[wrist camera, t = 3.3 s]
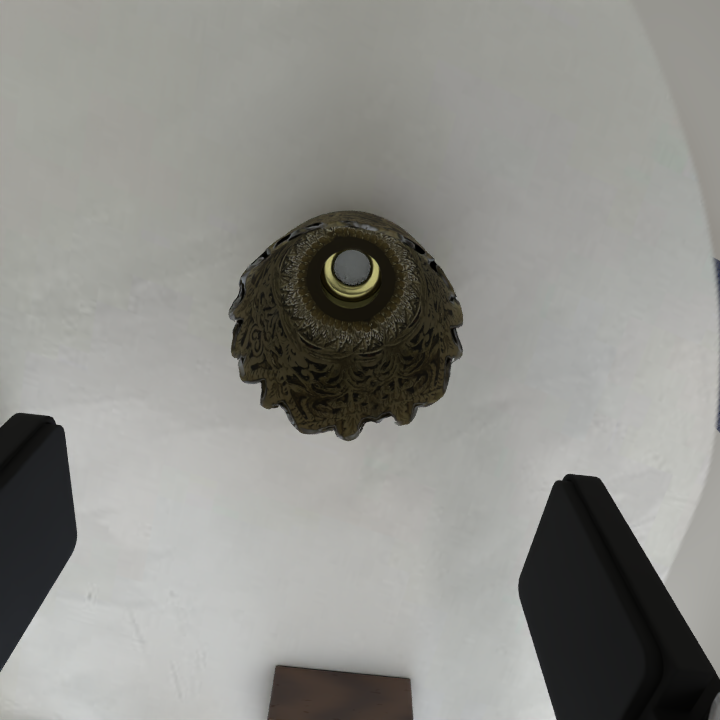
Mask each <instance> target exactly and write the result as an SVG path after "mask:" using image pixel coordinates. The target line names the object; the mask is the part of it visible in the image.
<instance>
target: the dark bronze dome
mask: <svg viewBox="0 0 720 720" xmlns="http://www.w3.org/2000/svg"><path fill="white" fill-rule="evenodd" d="M347 250H357V251H360V252H362V253H363V254H364V255H366V257H367V258H368V260H369V262H370V266H371V270H370V274H369V276H368V278H367V279H366V280H365V281H364V282H363V283H361V284H359V285H355V286H350V285H346V284H343V283H342V282H340V281H339V280H338V279H337V277H336V275H335V273H334V262H335V260H336V258H337V257H338V255H339V254H341V253H342V252H344V251H347ZM239 287H240V291H239V295H238V297H237V298H236V299H235V300H234V302H233V304H232V306H231V308H230V310H229V318H230V319H231V320H233V321H235V320H237V323H236V324H235V327H234V329H233V340H232V346H231V353H232V356H233V357H234V358H237V360H238V359H239V358H240V360H239V363H238V366H239V372H240V378H241V380H242V381H243V382H244V383H247V384H255V383H259V382H261V388H262V392H261V401H260V403H261V406H263V407H264V408H266V409H271V408H278V406H279V405H280V407H281V408H282V409H284V410H285V412H286V414H287V417H288V419H289V421H290V422H291V423H292V425H293V426H294V427H295V428H296V429H297V430H298V431H299V432H301V433H303V434H318V433H324V432H327V431H333V430H334V431H335V434H336V435H337V437H339V438H340V439H343V440H345V441H351V440H354V439H356V438H357V437H358V436H359V434H360V433H361V432H362V429H363V428H362V427H363V426H364V424H365V423H366V422H370V421H372V422H376V423H380V422H381V421H382V420H383V419H384V418H387V417H390V416H392V417H394V418H395V421H397V422H395V424H397V425H398V426H401V425H406V424H409V423H410V422H411V421H412V420H413V419H414V417H415V415H416V412H417V410H418V407H428V406H430V405H432V404H433V403H435V402H437V401H438V400H439V399H440V398H441V397H443V395H444V394H445V392H446V389H447V385H448V382H449V377H450V369H451V364H452V363H453V362H454V361H456V360H457V359H460V358H461V356H462V352H463V349H462V345H461V343H460V340H459V338H458V335H457V331H456V328H459V327H460V326H462V324H463V314H462V310H461V306H460V303H459V302H458V301H457V299H456V297H457V296H456V294H455V292H454V289H453V287H452V285H451V284H450V282H449V280H448V279H447V277H446V275H445V274H444V272H443V271H442V269H441V268H440V267H439V266H438V265H437V264H436V263H435V261H434V258H433V257H432V256H431V255H429V254H428V253H427V252H426V251H425V249H424V248H423V247H422V246H421V245H420V244H419V243H418V242H417V241H416V240H415V239H414V238H413V237H412V236H411V235H410V234H408V233H407V232H406V231H405V230H403V229H402V228H401V227H399V226H398V225H396V224H394V223H393V222H391V221H389V220H387V219H384V218H382V217H379V216H376V215H374V214H370V213H365V212H358V211H339V212H332V213H328V214H324V215H320V216H318V217H315V218H312V219H310V220H308V221H306V222H304V223H302V224H300V225H299V226H297V227H296V228H294V229H293V230H291V231H290V232H288V233H287V234H286V235H285V236H283V237H281V238H280V239H279V240H277V241H276V242H274V243H273V244H272V245H271V246H270V247H268V248H267V249H266V250H265V252H264V253H263V254H261V255H260V256H259V257H258V258H257V259H256V260H255V261H254V262H253V263H252V264H251V265H250V266H249V267H248V268H247V269H246V270H245V272H244V273H243V275H242V276H241V278H240V282H239ZM452 358H455V359H454V361H453V362H452ZM275 405H276V406H275ZM363 423H364V424H363ZM362 424H363V425H362ZM361 426H362V427H361ZM360 428H361V429H360ZM359 429H360V431H359Z"/></svg>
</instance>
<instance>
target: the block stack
mask: <svg viewBox="0 0 720 720" xmlns="http://www.w3.org/2000/svg"><path fill="white" fill-rule="evenodd" d="M267 720H413V708H412V694H411V681H410V679H403V678H393V677H383V676H373V675H363V674H353V673H343V672H333V671H323V670H313V669H303V668H293V667H283V666H276V668H275V674H274V680H273V687H272V693H271V699H270V706H269V712H268V718H267Z"/></svg>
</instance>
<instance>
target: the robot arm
mask: <svg viewBox="0 0 720 720" xmlns="http://www.w3.org/2000/svg"><path fill="white" fill-rule="evenodd" d="M76 541H77V528H76V520H75V512H74V504H73V496H72V488H71V480H70V472H69V464H68V456H67V447H66V439H65V432H64V428H63V427H62V426H60V425H56V423H55V420H54V419H53V417H50V416H44V415H35V414H26V413H16V414H15V415H13V416H12V417H11V418H10V419H9V420H8V421H7V422H6V423H5V424H4V425H3V426H2V427H1V428H0V672H1V670H2V668H3V667H4V665H5V663H6V662H7V660H8V659H9V657H10V655H11V654H12V652H13V650H14V649H15V647H16V645H17V644H18V642H19V640H20V639H21V637H22V635H23V634H24V632H25V631H26V629H27V627H28V626H29V624H30V622H31V621H32V619H33V617H34V616H35V614H36V612H37V611H38V609H39V607H40V606H41V604H42V603H43V601H44V599H45V598H46V596H47V594H48V593H49V591H50V589H51V588H52V586H53V584H54V583H55V581H56V579H57V578H58V576H59V575H60V573H61V571H62V570H63V568H64V566H65V565H66V563H67V561H68V560H69V558H70V556H71V555H72V553H73V551H74V548H75V545H76ZM518 591H519V597H520V601H521V604H522V607H523V611H524V614H525V617H526V620H527V624H528V627H529V630H530V634H531V637H532V640H533V643H534V647H535V650H536V653H537V657H538V660H539V663H540V666H541V670H542V673H543V676H544V680H545V683H546V686H547V689H548V693H549V696H550V699H551V702H552V706H553V709H554V712H555V716H556V719H557V720H720V679H719V677H718V676H717V674H716V672H715V670H714V668H713V667H712V665H711V663H710V661H709V660H708V658H707V656H706V655H705V653H704V652H703V650H702V648H701V646H700V645H699V643H698V641H697V640H696V638H695V636H694V635H693V633H692V631H691V630H690V628H689V626H688V625H687V623H686V621H685V620H684V618H683V616H682V615H681V613H680V611H679V610H678V608H677V607H676V605H675V603H674V601H673V600H672V598H671V596H670V595H669V593H668V591H667V590H666V588H665V586H664V584H663V583H662V581H661V579H660V578H659V576H658V574H657V573H656V571H655V569H654V568H653V566H652V564H651V563H650V561H649V559H648V558H647V556H646V554H645V553H644V551H643V549H642V548H641V546H640V544H639V543H638V541H637V539H636V537H635V536H634V534H633V532H632V531H631V529H630V527H629V526H628V524H627V522H626V521H625V519H624V517H623V516H622V514H621V512H620V511H619V509H618V507H617V506H616V504H615V502H614V501H613V499H612V497H611V496H610V494H609V492H608V491H607V489H606V487H605V486H604V484H603V482H602V481H601V480H600V479H599V478H597V477H593V476H584V475H575V474H567V475H566V476H565V477H564V478H563V480H562V481H561V480H558V481H556V482H555V483H554V485H553V487H552V490H551V493H550V495H549V498H548V501H547V504H546V506H545V509H544V512H543V515H542V517H541V520H540V523H539V526H538V528H537V531H536V534H535V536H534V539H533V542H532V545H531V547H530V550H529V553H528V556H527V558H526V561H525V564H524V567H523V569H522V572H521V575H520V578H519V584H518Z"/></svg>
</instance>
